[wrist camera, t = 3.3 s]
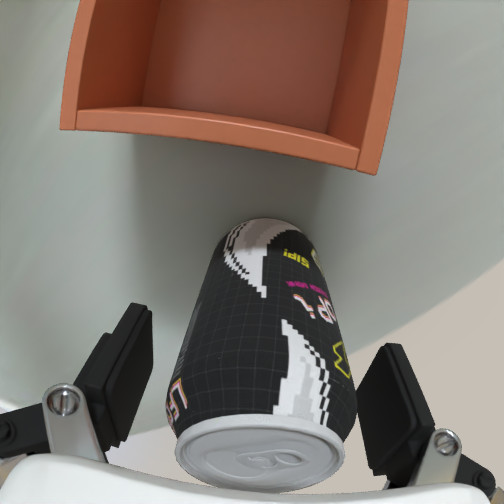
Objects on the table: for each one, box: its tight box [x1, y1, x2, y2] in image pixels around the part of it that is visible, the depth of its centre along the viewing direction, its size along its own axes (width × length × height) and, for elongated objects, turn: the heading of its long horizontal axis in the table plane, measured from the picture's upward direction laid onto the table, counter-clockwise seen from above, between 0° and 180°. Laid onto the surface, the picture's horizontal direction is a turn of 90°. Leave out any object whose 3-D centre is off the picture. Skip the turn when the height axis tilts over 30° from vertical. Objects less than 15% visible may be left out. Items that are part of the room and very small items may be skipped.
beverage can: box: [166, 218, 358, 493], centre depth 12 cm, size 6×6×12 cm
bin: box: [60, 0, 409, 176], centre depth 10 cm, size 10×10×7 cm
